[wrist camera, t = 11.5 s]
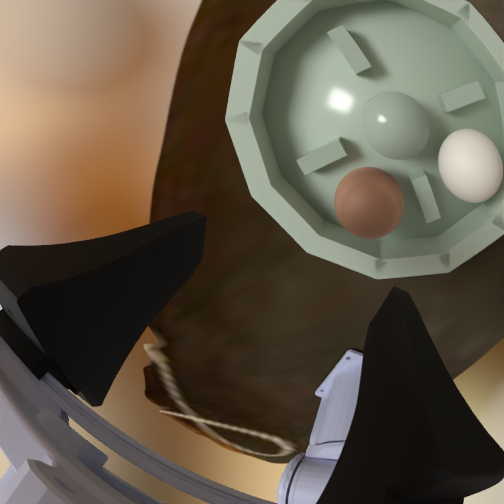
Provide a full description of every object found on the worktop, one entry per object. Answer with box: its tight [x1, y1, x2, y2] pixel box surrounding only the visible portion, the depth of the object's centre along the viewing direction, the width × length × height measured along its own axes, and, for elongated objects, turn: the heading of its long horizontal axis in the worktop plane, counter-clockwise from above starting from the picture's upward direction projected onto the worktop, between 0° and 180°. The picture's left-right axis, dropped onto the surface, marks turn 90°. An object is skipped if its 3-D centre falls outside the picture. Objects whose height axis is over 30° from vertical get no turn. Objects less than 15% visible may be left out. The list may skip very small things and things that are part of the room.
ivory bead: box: [438, 129, 503, 203], centre depth 11 cm, size 4×4×4 cm
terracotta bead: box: [334, 167, 404, 239], centre depth 15 cm, size 4×4×4 cm
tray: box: [225, 0, 504, 279], centre depth 13 cm, size 18×18×3 cm
